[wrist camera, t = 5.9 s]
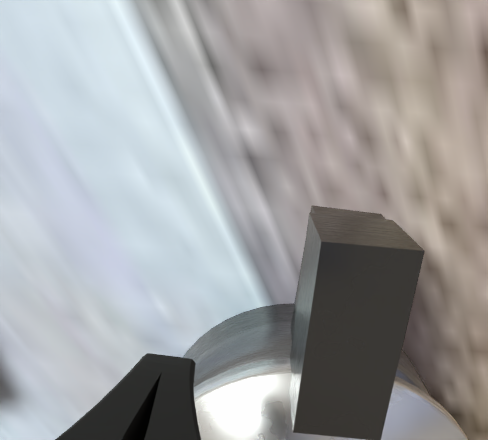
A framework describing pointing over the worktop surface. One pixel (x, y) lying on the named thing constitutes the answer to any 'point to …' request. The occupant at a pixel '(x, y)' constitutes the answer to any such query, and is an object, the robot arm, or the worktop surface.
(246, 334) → the cooker pot
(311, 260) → the lid
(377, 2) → the worktop surface
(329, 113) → the worktop surface
